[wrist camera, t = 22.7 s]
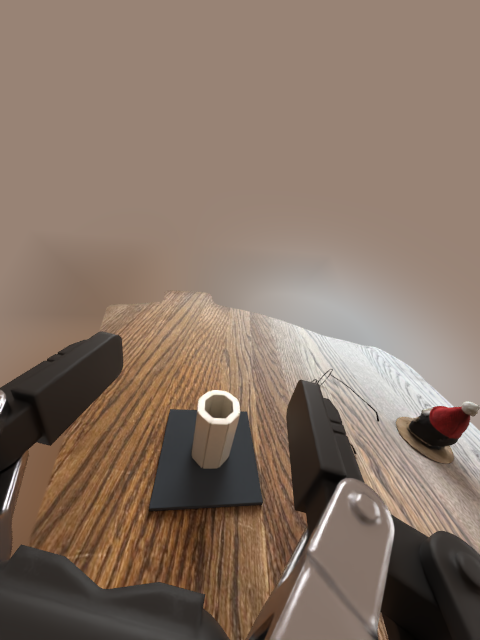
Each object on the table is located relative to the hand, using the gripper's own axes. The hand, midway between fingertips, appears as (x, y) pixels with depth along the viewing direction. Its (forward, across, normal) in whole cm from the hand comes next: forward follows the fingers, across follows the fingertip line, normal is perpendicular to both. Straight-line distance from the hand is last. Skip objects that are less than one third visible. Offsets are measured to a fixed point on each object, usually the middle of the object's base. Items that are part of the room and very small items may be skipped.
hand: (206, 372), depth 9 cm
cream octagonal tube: (+10, -1, +21) cm, 23 cm away
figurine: (+21, -36, +22) cm, 47 cm away
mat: (+10, 0, +22) cm, 24 cm away
